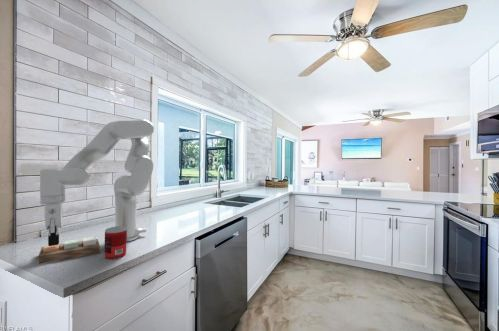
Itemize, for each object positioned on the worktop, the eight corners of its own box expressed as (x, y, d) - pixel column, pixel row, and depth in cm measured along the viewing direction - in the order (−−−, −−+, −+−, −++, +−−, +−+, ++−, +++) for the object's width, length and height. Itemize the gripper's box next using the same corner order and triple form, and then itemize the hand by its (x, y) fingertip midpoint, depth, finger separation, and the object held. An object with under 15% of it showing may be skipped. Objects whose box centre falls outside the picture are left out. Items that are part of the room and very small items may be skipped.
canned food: (129, 251, 98) (130, 226, 98) (119, 259, 90) (120, 231, 90) (111, 251, 97) (112, 225, 97) (100, 259, 89) (100, 231, 89)
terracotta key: (59, 251, 93) (59, 244, 93) (58, 255, 90) (58, 247, 90) (44, 254, 91) (44, 246, 91) (42, 258, 87) (43, 250, 87)
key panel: (97, 245, 104) (97, 238, 104) (99, 252, 96) (99, 245, 96) (41, 254, 93) (41, 247, 93) (38, 264, 84) (38, 256, 84)
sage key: (78, 246, 97) (78, 239, 97) (78, 249, 94) (78, 242, 94) (64, 248, 94) (64, 241, 94) (63, 251, 91) (63, 244, 91)
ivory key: (95, 243, 101) (95, 236, 101) (96, 246, 97) (96, 239, 97) (82, 245, 98) (82, 238, 98) (83, 248, 95) (83, 241, 95)
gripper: (64, 201, 87) (65, 248, 87) (65, 195, 99) (66, 237, 99) (37, 203, 82) (38, 253, 83) (42, 197, 94) (43, 241, 94)
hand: (53, 244), depth 91 cm, fingers closed
